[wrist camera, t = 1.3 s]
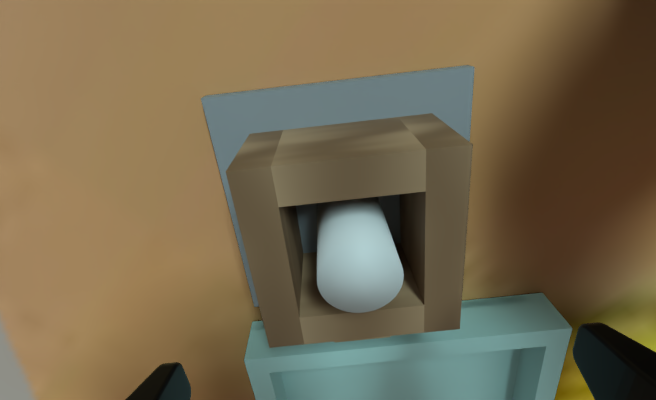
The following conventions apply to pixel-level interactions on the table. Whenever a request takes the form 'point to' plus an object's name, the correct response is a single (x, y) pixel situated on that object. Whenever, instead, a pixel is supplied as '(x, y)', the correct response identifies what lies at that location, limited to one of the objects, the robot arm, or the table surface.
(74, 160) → the table surface
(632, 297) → the table surface
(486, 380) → the tray
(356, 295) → the grey square knobbed piece
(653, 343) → the table surface
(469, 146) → the walnut square frame
